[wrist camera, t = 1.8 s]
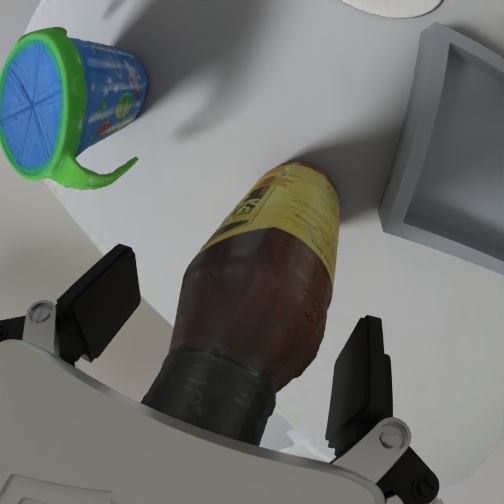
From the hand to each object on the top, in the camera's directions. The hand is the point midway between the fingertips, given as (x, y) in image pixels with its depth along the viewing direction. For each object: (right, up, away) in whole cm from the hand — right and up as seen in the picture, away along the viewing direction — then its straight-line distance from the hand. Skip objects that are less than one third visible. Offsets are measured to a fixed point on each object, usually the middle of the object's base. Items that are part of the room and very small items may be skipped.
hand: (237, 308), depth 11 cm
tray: (+18, +9, +4) cm, 21 cm away
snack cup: (-11, +16, +9) cm, 22 cm away
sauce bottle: (+4, +6, +10) cm, 13 cm away
